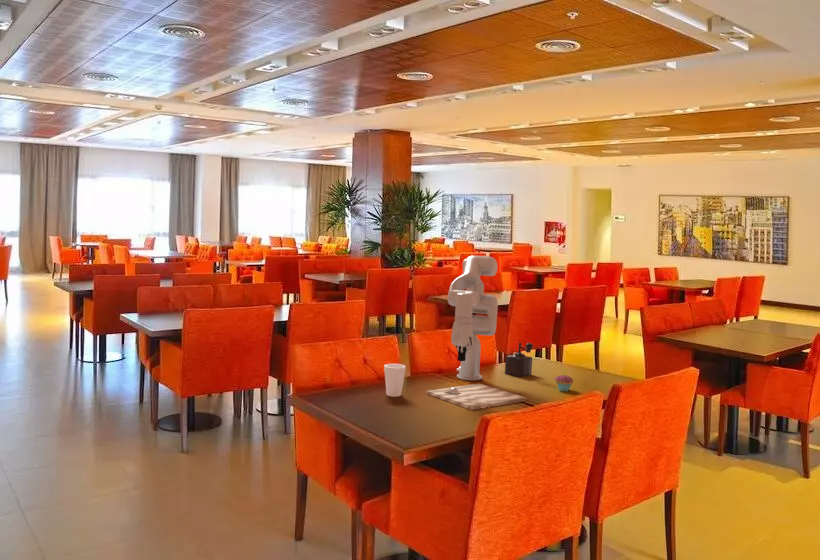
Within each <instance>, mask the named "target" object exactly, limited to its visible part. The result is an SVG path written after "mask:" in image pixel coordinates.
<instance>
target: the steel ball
mask: <svg viewBox="0 0 820 560" xmlns="http://www.w3.org/2000/svg"><path fill="white" fill-rule="evenodd" d="M450 388H451V387H450ZM449 393H450V395H455V394H458V390H457V389H456V388H451V389H450V391H449Z"/></svg>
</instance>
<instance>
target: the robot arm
mask: <svg viewBox="0 0 820 560" xmlns="http://www.w3.org/2000/svg"><path fill="white" fill-rule="evenodd" d="M498 267H499V266H498V262H497V259H495V257H492V256H488V255H470V256H468V257H467V258H465V259H463V261H462V273H461V275H459V276H458V277H456V278H455V279H454V280H453V281H452V282H451V283H450V286H449V289H448V292H447V293H448V294H447V303H448V305H450V306H452V307H455V310H454V322H453V325H452V328H451V329H452V330H451V335H450V336H451V337H450V341H451V344H453V346H454V348H456V351H457V361H459V362H460V366H458V368H456V371H457V372H458V373H457V374H456V378H458V379H459V380H463V381H473V382H474V381H480V380H482V379H483V375H481V374H480V366H481V365H480V364H481V351H482V350H481V347H482V344H481V341H480V339H479V337H478V336H494V335H495V334H496V331H497V323H498V322H497V320H498V319H497V318H498V298H497V297H496V296H495V295H493V294H484V291H485V285H484V282H483V281H482V279H481V277H482V276H483V277H484V276H485V277H494V276H496V274H497V272H498ZM477 314H485V315H477Z"/></svg>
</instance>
